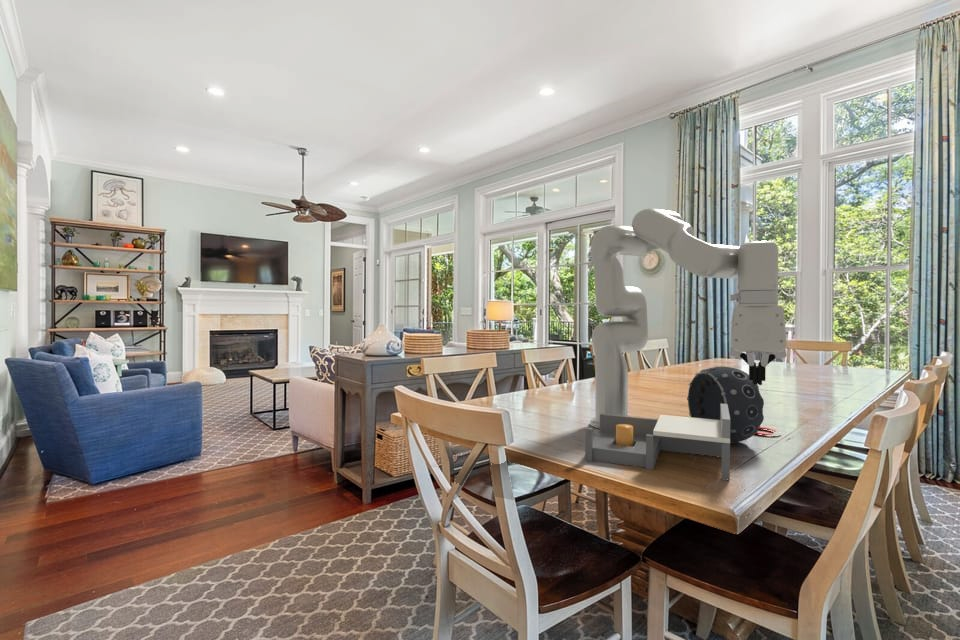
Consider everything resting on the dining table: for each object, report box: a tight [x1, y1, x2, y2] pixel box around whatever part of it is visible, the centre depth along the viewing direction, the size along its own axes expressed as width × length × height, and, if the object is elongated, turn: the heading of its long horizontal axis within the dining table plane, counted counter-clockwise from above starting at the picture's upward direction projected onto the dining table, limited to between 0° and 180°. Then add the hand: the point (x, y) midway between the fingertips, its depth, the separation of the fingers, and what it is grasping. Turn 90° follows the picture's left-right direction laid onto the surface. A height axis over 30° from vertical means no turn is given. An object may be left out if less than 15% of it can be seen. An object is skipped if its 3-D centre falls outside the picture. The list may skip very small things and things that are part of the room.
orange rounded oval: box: [616, 424, 633, 447], centre depth 115 cm, size 4×4×7 cm
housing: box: [584, 414, 731, 481], centre depth 112 cm, size 17×30×8 cm, turn 64°
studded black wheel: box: [686, 366, 765, 444], centre depth 126 cm, size 11×20×20 cm, turn 6°
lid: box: [653, 403, 731, 444], centre depth 108 cm, size 17×15×5 cm
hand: (757, 383), depth 102 cm, fingers closed
